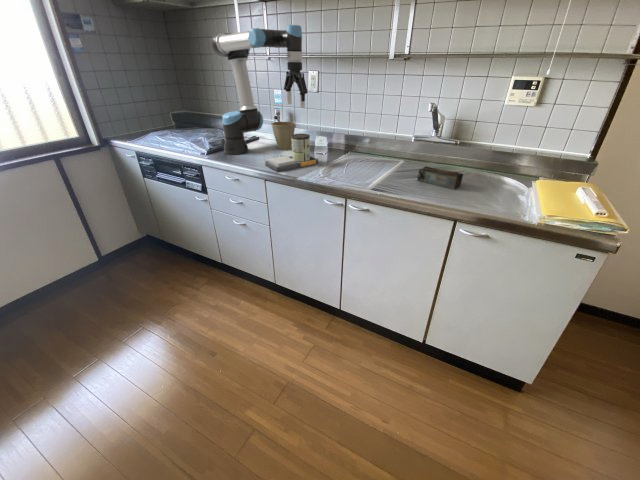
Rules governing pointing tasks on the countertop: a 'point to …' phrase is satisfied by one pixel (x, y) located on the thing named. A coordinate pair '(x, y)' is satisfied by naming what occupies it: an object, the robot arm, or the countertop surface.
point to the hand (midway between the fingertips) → (295, 106)
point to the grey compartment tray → (288, 163)
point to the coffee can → (300, 147)
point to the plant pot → (283, 134)
